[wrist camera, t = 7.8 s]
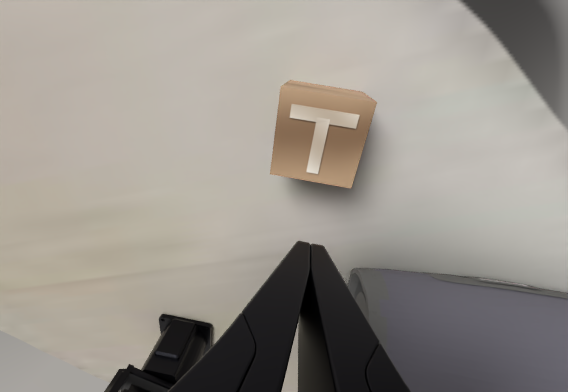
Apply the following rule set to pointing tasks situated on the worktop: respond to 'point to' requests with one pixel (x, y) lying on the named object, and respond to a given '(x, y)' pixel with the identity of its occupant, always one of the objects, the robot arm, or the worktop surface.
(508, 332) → the bluetooth speaker
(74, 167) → the worktop surface
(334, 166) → the letter block
